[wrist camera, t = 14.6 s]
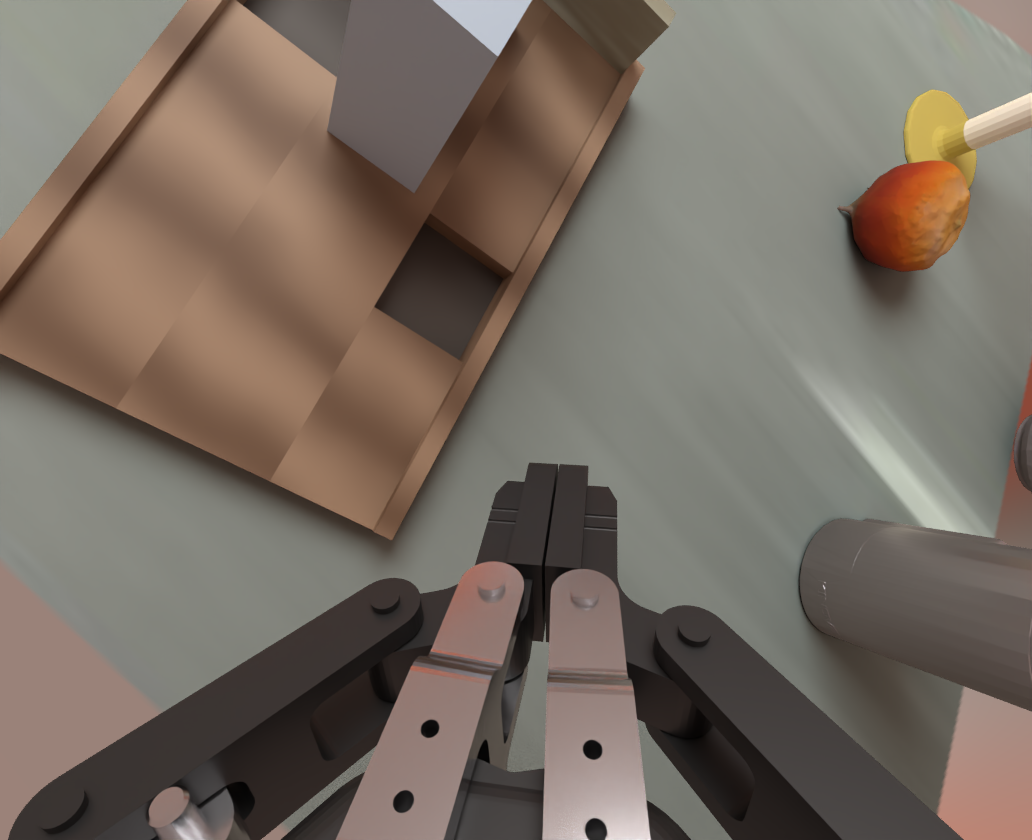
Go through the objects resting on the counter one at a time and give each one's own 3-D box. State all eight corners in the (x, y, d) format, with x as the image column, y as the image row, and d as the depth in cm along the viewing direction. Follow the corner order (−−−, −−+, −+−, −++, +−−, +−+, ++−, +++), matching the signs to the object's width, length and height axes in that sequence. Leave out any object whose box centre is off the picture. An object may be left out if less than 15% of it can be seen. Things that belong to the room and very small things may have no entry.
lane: (349, -172, 30) (367, -311, 24) (624, 87, 37) (688, 26, 31) (-37, 332, 24) (-134, 303, 18) (384, 532, 30) (409, 557, 25)
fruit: (878, 135, 45) (1000, 141, 40) (866, 224, 50) (972, 239, 45) (825, 189, 42) (947, 203, 37) (818, 276, 48) (924, 299, 43)
